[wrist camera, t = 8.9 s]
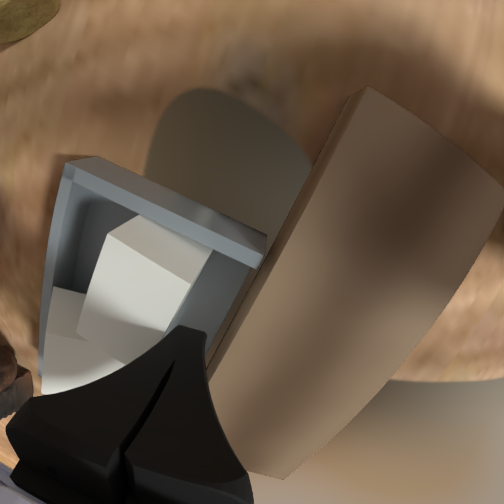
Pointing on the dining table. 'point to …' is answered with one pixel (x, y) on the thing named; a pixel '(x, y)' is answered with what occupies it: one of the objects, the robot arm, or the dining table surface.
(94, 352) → the white squarish block
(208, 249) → the tile
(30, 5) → the gavel
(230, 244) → the tray
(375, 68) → the dining table surface
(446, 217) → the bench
